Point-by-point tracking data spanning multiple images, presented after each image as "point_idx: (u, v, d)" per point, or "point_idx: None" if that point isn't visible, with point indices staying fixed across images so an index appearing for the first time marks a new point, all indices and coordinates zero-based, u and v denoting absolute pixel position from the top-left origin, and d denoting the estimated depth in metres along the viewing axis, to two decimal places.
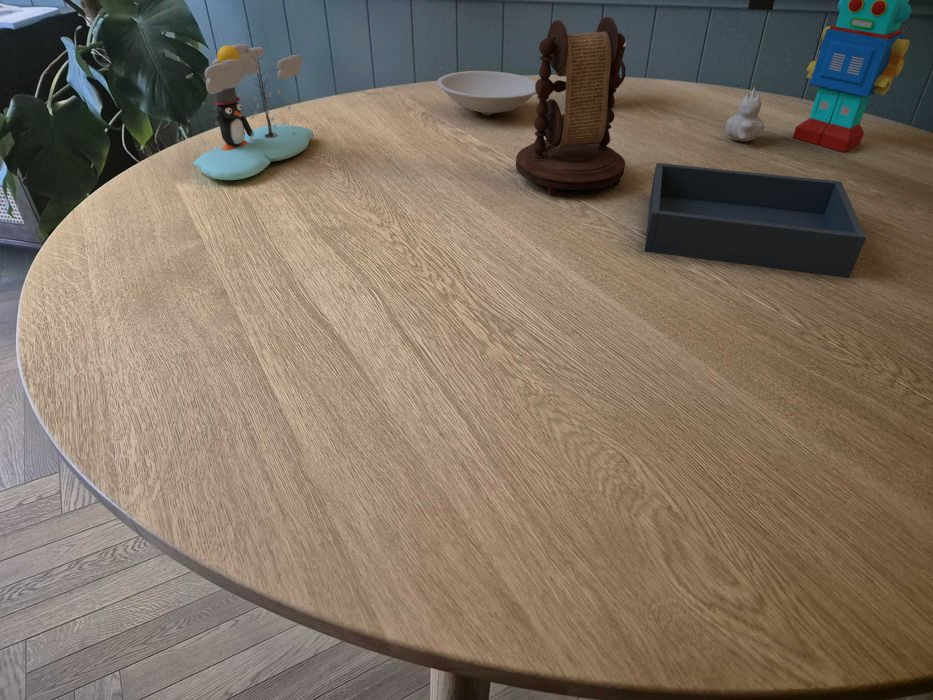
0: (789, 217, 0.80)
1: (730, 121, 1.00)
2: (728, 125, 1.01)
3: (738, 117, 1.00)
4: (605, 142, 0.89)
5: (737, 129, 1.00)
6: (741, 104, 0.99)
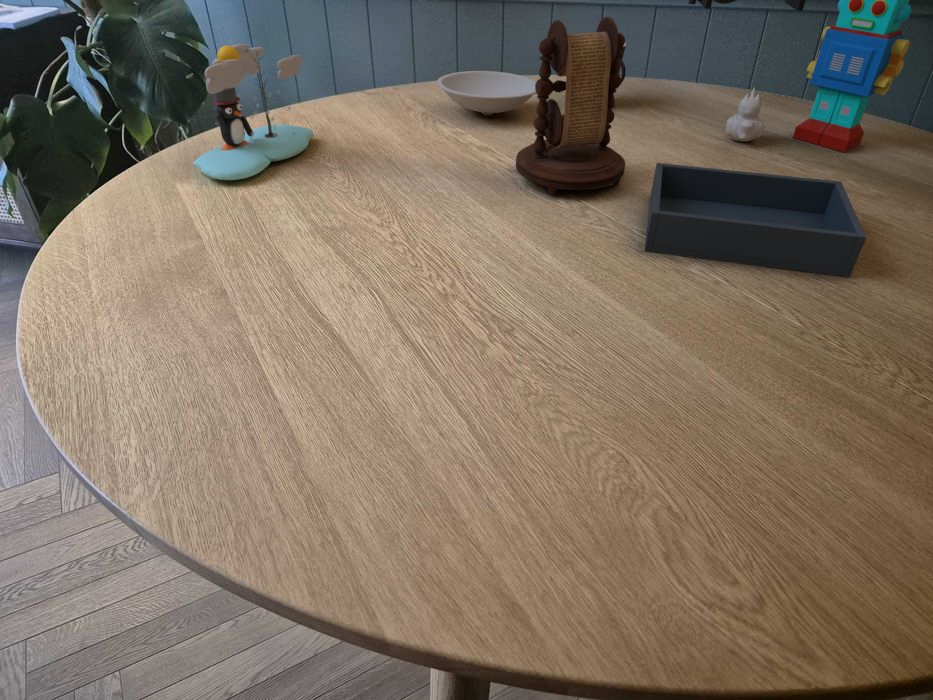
0: (789, 217, 0.80)
1: (730, 121, 1.00)
2: (728, 125, 1.01)
3: (738, 117, 1.00)
4: (605, 142, 0.89)
5: (737, 129, 1.00)
6: (741, 104, 0.99)
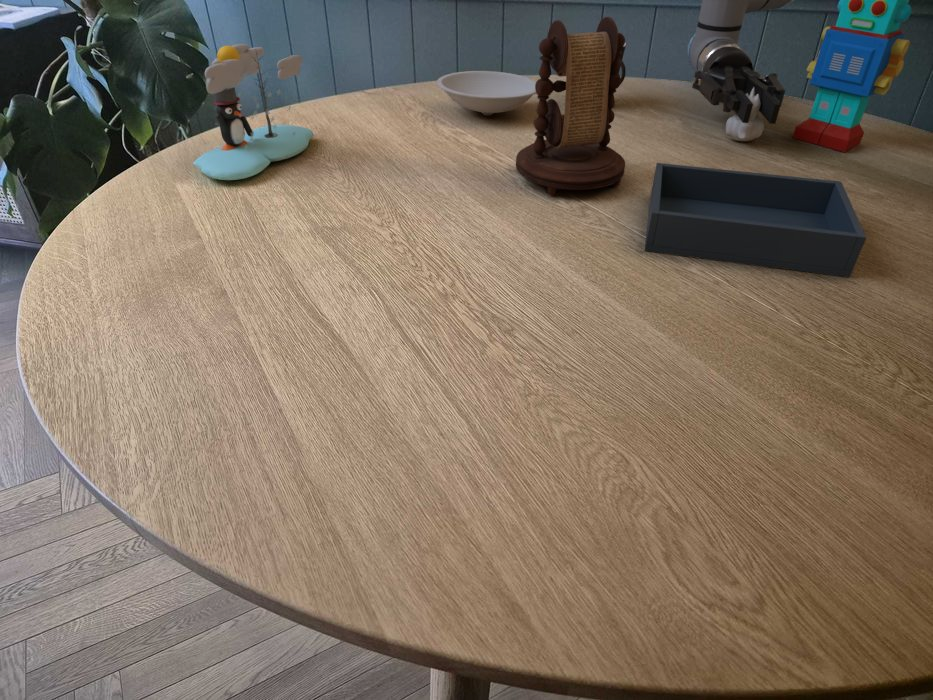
0: (789, 217, 0.80)
1: (730, 121, 1.00)
2: (728, 125, 1.01)
3: (737, 117, 1.00)
4: (605, 142, 0.89)
5: (737, 129, 1.00)
6: None
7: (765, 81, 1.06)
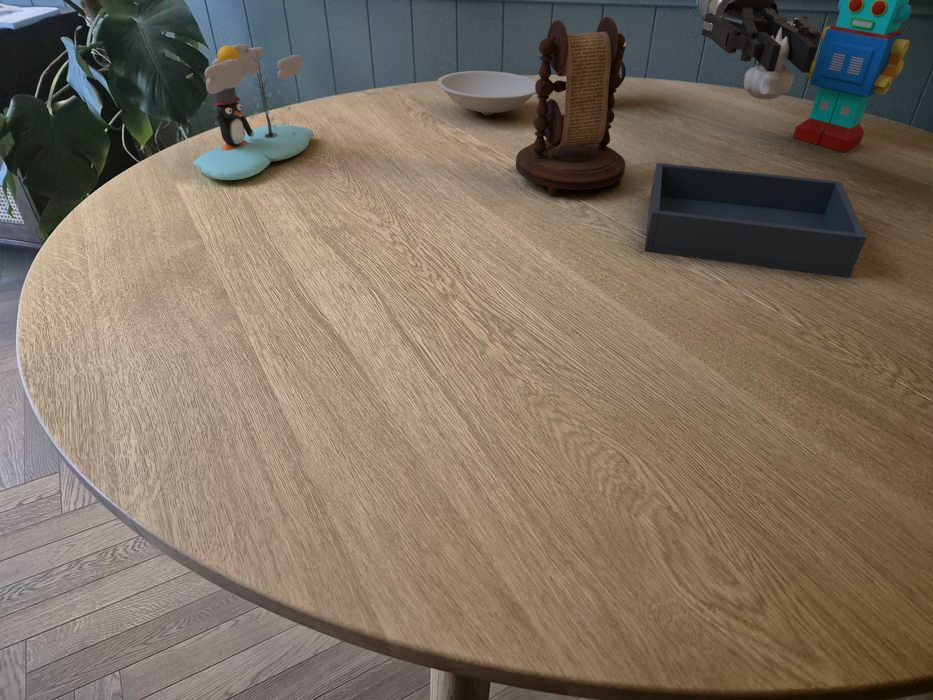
0: (789, 217, 0.80)
1: (750, 73, 0.79)
2: (747, 78, 0.79)
3: (759, 68, 0.79)
4: (605, 142, 0.89)
5: (759, 83, 0.78)
6: None
7: (794, 26, 0.84)
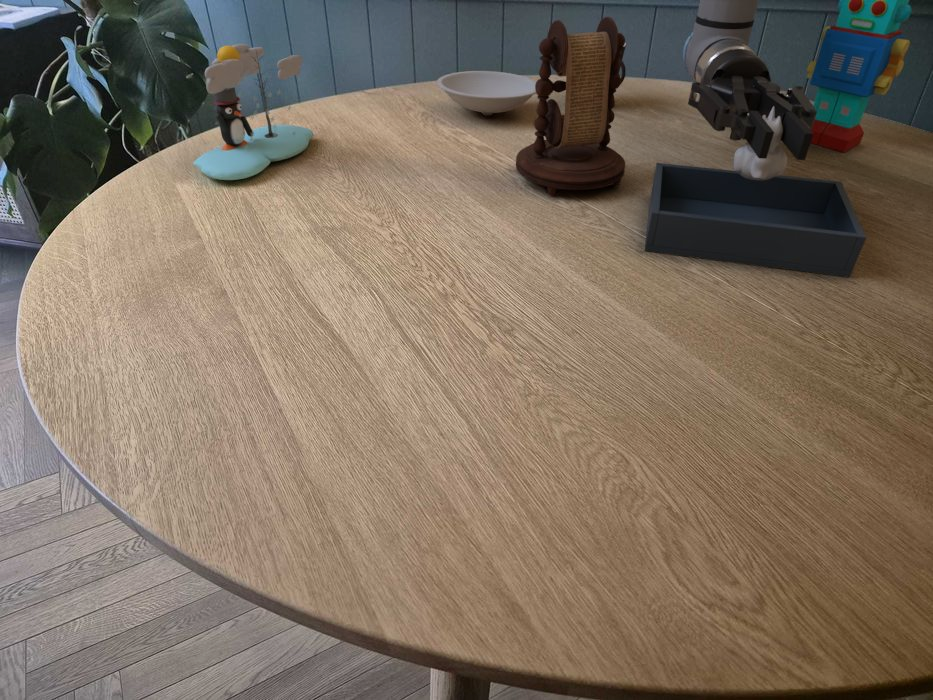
0: (789, 217, 0.80)
1: (740, 153, 0.72)
2: (737, 159, 0.73)
3: (750, 148, 0.72)
4: (605, 142, 0.89)
5: (749, 164, 0.72)
6: None
7: (787, 97, 0.78)
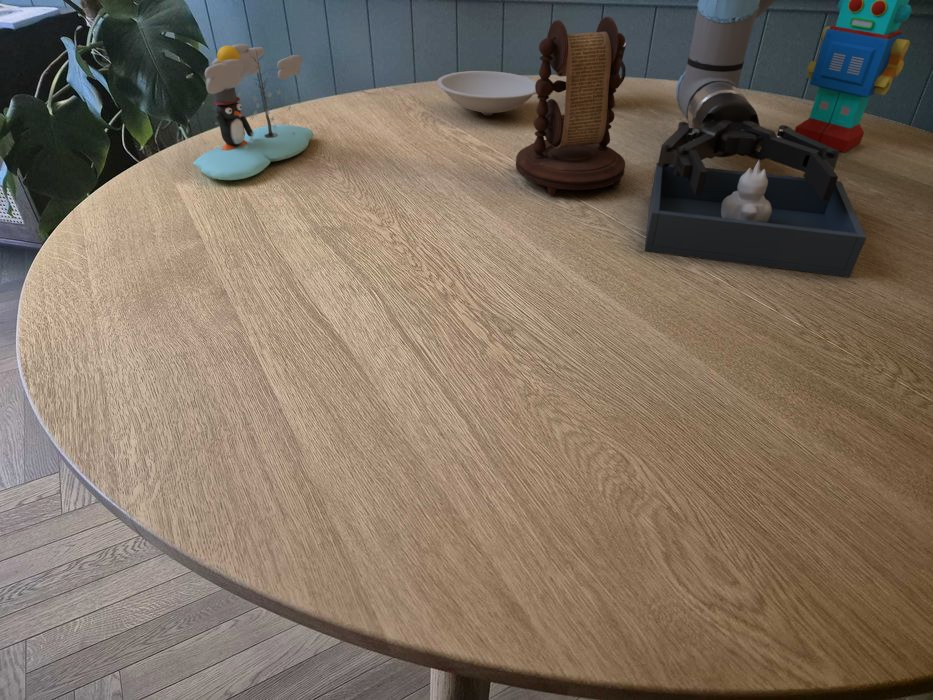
0: (789, 217, 0.80)
1: (727, 203, 0.76)
2: (724, 208, 0.76)
3: (736, 198, 0.76)
4: (605, 142, 0.89)
5: (736, 214, 0.76)
6: (741, 182, 0.75)
7: (780, 137, 0.82)
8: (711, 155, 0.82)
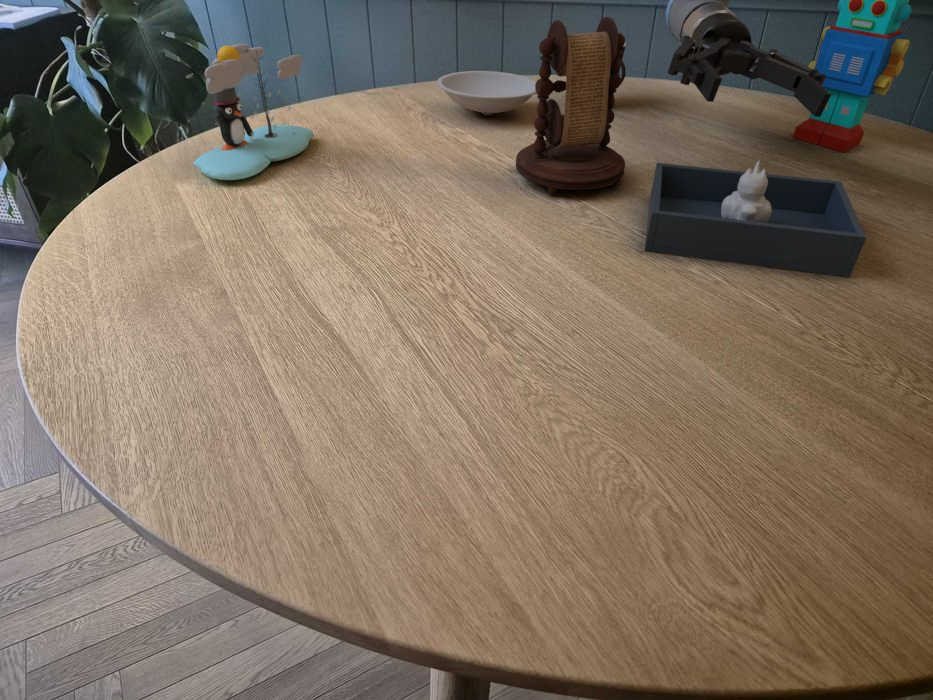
0: (789, 217, 0.80)
1: (727, 203, 0.76)
2: (724, 208, 0.76)
3: (736, 198, 0.76)
4: (605, 142, 0.89)
5: (736, 214, 0.76)
6: (741, 182, 0.75)
7: None
8: None
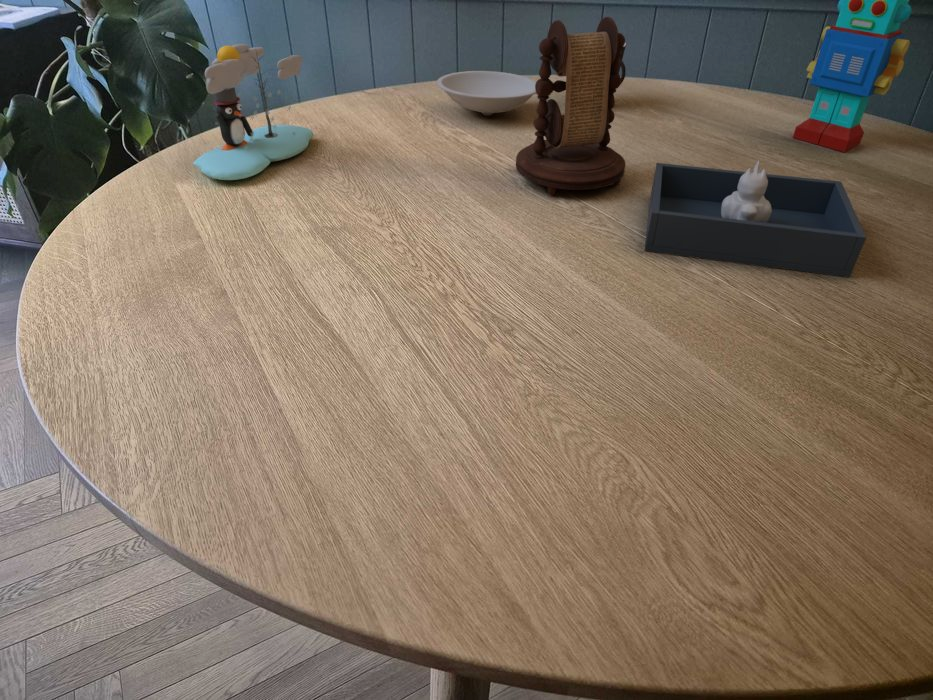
0: (789, 217, 0.80)
1: (727, 203, 0.76)
2: (724, 208, 0.76)
3: (736, 198, 0.76)
4: (605, 142, 0.89)
5: (736, 214, 0.76)
6: (741, 182, 0.75)
7: None
8: None
